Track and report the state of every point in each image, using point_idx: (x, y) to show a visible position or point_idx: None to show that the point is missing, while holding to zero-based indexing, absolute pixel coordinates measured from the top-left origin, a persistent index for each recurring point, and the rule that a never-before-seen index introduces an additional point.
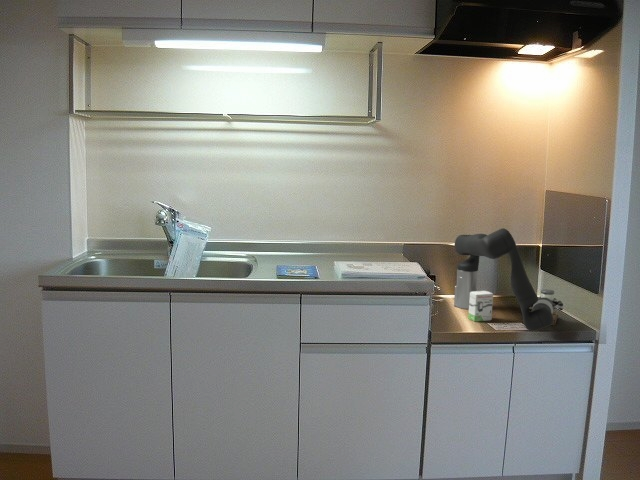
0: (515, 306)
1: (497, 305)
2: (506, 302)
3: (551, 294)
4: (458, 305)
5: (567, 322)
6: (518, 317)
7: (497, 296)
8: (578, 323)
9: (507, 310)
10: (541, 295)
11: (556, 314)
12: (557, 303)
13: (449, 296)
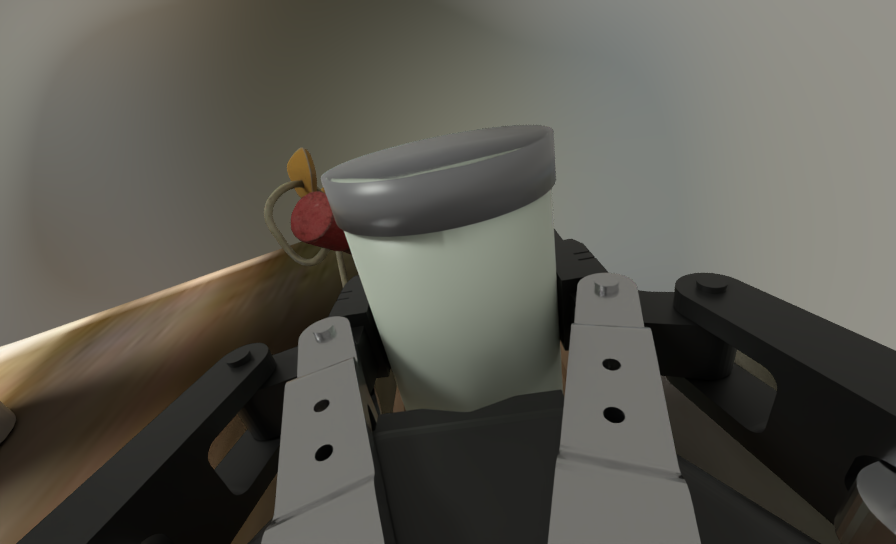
0: (305, 308)
1: (204, 341)
2: (277, 287)
3: (532, 202)
4: None
5: (687, 412)
6: (241, 540)
7: (265, 257)
8: (772, 383)
9: None
10: (360, 271)
11: (561, 350)
12: (680, 344)
13: (8, 348)
